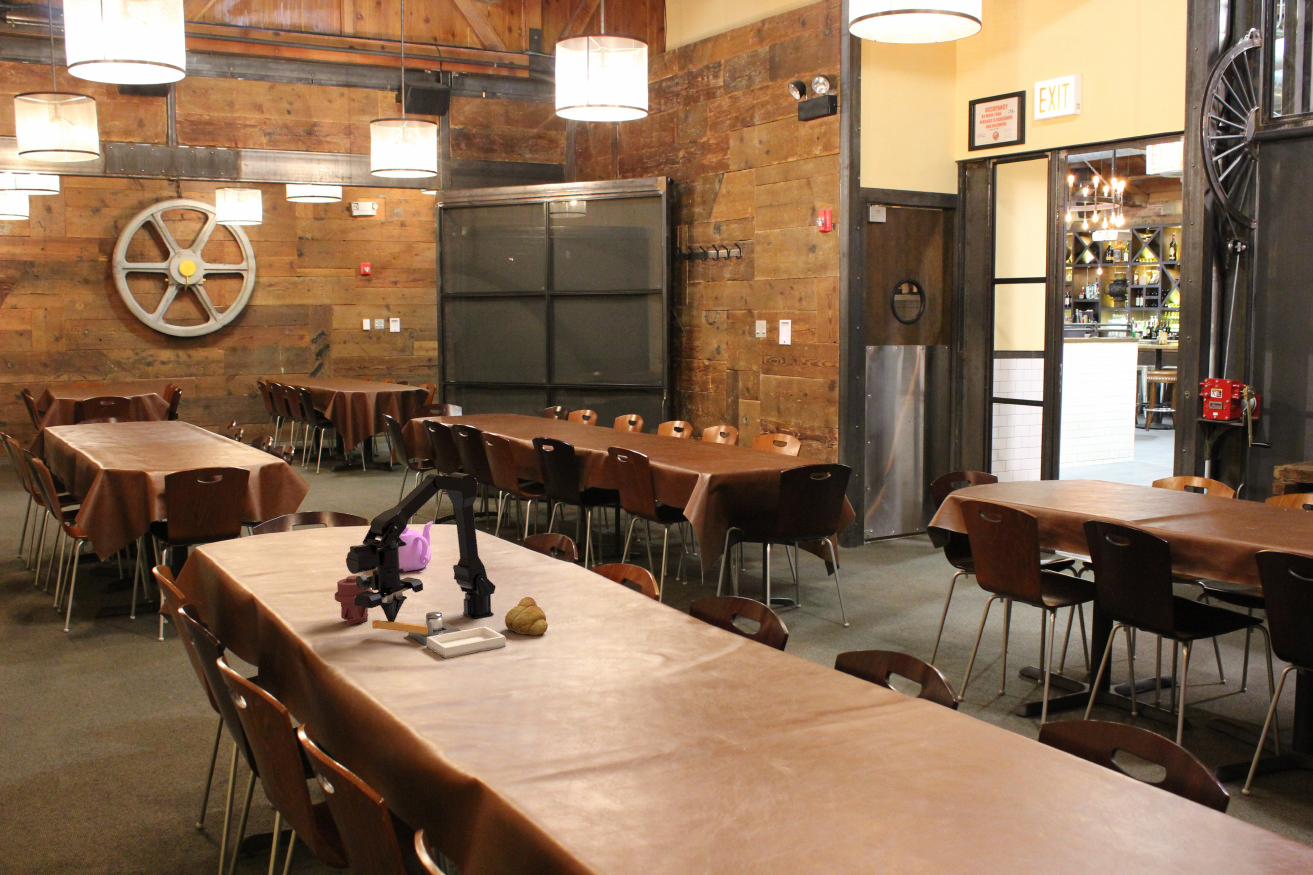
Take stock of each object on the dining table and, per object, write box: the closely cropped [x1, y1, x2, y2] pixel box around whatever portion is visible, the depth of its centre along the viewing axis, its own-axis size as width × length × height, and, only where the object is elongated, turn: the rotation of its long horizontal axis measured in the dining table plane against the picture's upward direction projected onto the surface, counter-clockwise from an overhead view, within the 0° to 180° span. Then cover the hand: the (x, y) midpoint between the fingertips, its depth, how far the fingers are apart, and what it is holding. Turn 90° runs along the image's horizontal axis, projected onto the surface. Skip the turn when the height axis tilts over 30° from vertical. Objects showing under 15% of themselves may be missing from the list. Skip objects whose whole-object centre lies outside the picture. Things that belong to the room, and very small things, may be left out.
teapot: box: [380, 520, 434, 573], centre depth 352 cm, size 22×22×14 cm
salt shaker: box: [425, 611, 443, 632], centre depth 275 cm, size 4×4×6 cm
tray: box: [426, 625, 506, 659], centre depth 267 cm, size 16×11×2 cm
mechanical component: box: [334, 575, 374, 626], centre depth 288 cm, size 12×10×10 cm
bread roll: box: [504, 596, 549, 636], centre depth 279 cm, size 13×10×8 cm
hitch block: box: [407, 621, 462, 646], centre depth 275 cm, size 10×10×2 cm
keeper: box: [371, 619, 433, 635], centre depth 273 cm, size 2×18×3 cm, turn 69°
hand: (391, 624), depth 275 cm, fingers closed
